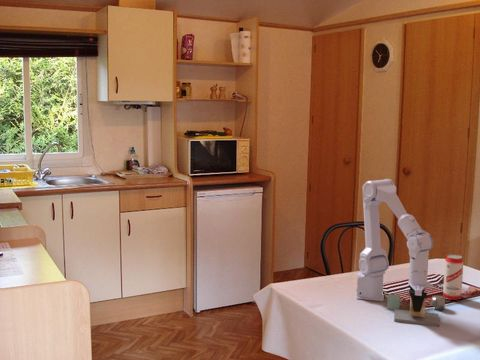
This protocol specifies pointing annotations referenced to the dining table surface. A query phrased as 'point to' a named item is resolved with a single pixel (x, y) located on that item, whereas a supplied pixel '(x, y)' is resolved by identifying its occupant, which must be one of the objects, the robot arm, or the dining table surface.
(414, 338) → the dining table surface
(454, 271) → the beer can
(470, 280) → the dining table surface
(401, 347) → the dining table surface
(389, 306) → the olive green cube
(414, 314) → the oak block
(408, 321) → the slate board
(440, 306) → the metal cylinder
